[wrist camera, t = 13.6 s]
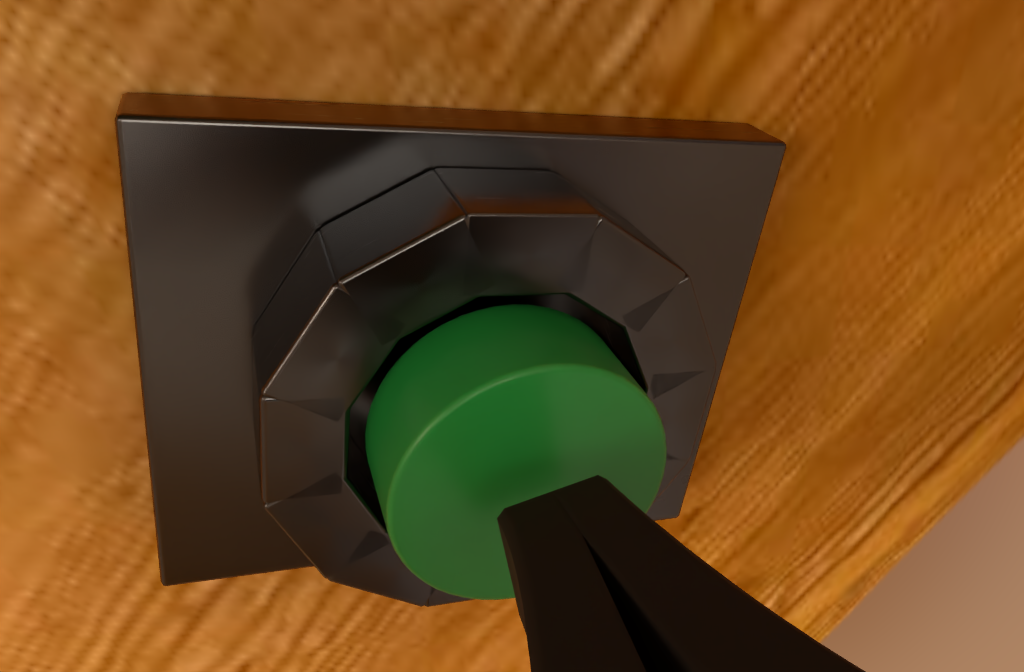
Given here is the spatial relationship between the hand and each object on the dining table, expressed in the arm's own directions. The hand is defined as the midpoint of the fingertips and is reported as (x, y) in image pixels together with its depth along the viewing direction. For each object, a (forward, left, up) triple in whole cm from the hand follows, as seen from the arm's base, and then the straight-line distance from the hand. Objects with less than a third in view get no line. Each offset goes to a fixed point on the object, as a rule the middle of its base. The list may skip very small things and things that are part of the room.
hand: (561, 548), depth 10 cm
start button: (0, 0, -3) cm, 3 cm away
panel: (0, 0, -5) cm, 5 cm away
